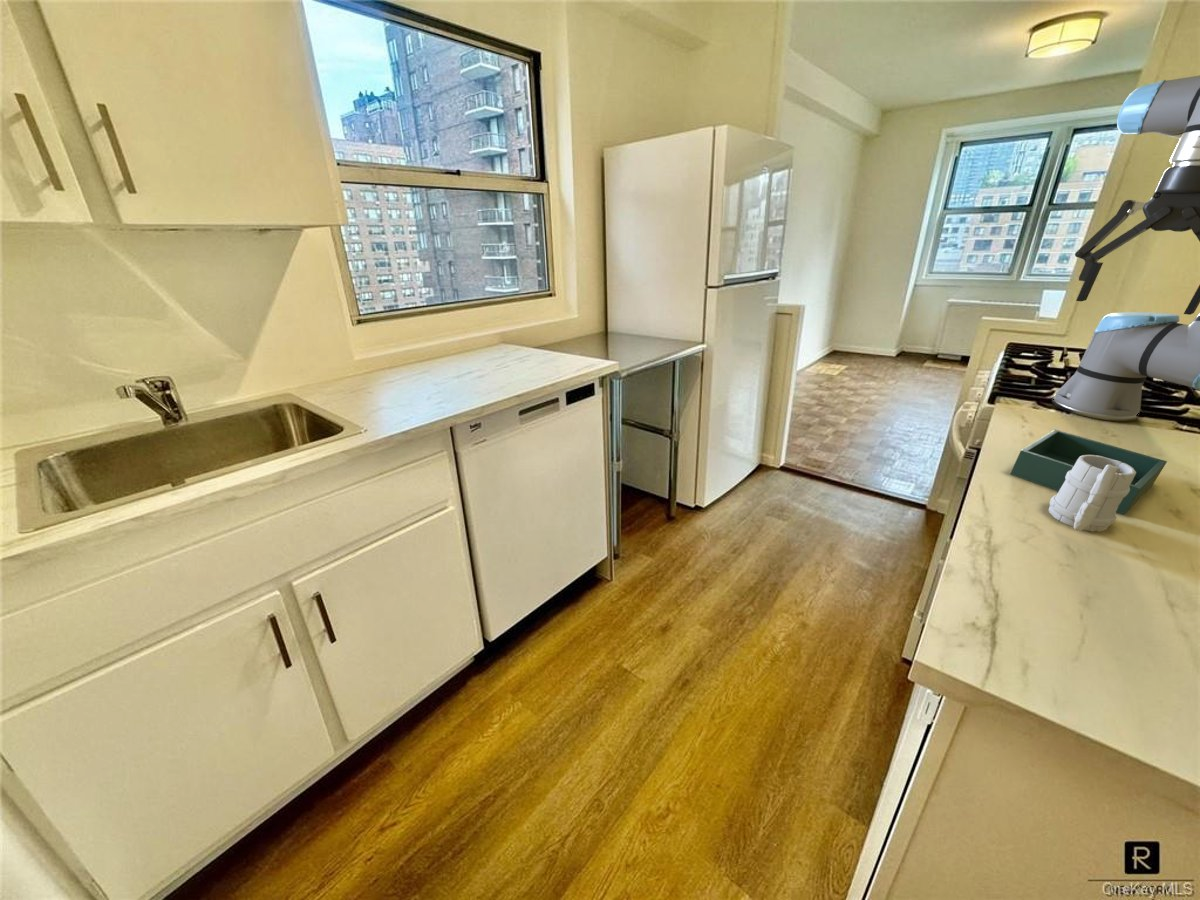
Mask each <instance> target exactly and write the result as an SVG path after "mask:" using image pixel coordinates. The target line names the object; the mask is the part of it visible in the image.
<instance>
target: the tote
mask: <svg viewBox="0 0 1200 900" xmlns="http://www.w3.org/2000/svg"><path fill="white" fill-rule="evenodd" d="M1082 455H1095V456H1102V457H1106V458H1109V459H1113V460H1117V461H1121V462H1122V463H1125V464H1128V465H1129V466H1131V467H1132V468H1133V469H1134V470H1135V471H1136V475H1135V477H1134V478H1133V480H1132V482H1131V484H1130V486H1129V488H1130V491H1129V493H1128V494H1127V495H1126V496H1125V497H1123V499H1122V501H1121V503H1120V505H1118V509H1117V511H1116V513H1117V514H1120V515H1123V516H1125V515H1126V514H1127V513H1128V512H1129V511H1130V510H1131V509H1132V508H1133V507H1134V505H1136V503H1138V501H1139V500H1140V499H1141V498H1142V497H1143V496H1144V495H1145V494H1146V493H1147V492H1148V491H1149V490H1150V489H1151V487H1153V485H1154V484H1155V482H1156V481H1157V479H1158V477H1159V476H1160V475H1161V472H1162V471H1163V469H1164V468H1165V466H1166V465H1167V463H1168V461H1167V460H1165V459H1161V458H1157V457H1154V456H1150V455H1146V454H1144V453H1140V452H1136V451H1132V450H1129V449H1125V448H1122V447H1118V446H1115V445H1112V444H1108V443H1105V442H1101V441H1097V440H1093V439H1090V438H1087V437H1083V436H1079V435H1076V434H1072V433H1069V432H1066V431H1062V430H1058V429H1053V430H1052V431H1050V432H1049V433H1047V434H1045V435H1044V436H1042V437H1041V438H1039V439H1037V440H1035V441H1034V442H1033V443H1031V444H1029V445H1026V446H1025V447H1024V448H1023V449H1021V450H1020V451H1019V454H1018V456H1017V457H1016V460H1015V463H1014V464H1013V467H1012V469H1011V471H1010V473H1009V475H1011V476H1014V477H1017V478H1020V479H1022V480H1025V481H1027V482H1030V483H1034V484H1037V485H1039V486H1041V487H1044V488H1047V489H1050V490H1053V491H1056V492H1057V493H1058V492H1059V490H1060V488H1061V487H1062V485H1063V483H1064V482H1065V480H1066V479H1065V476H1066V474H1067V472H1068V471H1070V470H1072V468H1073V467H1074V465H1075V463H1076V462H1077V460H1078V458H1079V457H1080V456H1082Z"/></svg>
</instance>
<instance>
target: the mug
mask: <svg viewBox="0 0 1200 900" xmlns="http://www.w3.org/2000/svg"><path fill="white" fill-rule="evenodd" d="M1135 475H1136V471H1135V470H1134V469H1133V468H1132V467H1131V466H1129V465H1128V464H1125V463H1122V462H1121V461H1117V460H1113V459H1109V458H1106V457H1102V456H1095V455H1082V456H1080V457H1079V458H1078V460H1077V462H1076V463H1075V465H1074V467H1073V468H1072V470H1070V471H1068V472H1067V474H1066V476H1065V479H1066V480H1065V482H1064V483H1063V485H1062V487H1061V488H1060V490H1059V492H1058V491H1057V494H1054V495H1052V497H1051V498H1050V500H1049V508H1048V513H1049V514H1050V515H1051V516H1052V517H1053V518H1054V519H1055V520H1058V521H1059V522H1061V523H1063V524H1065V525H1067V526H1070V527H1073V529H1074V530H1076V531H1079V532H1080V531H1081V532H1082V531H1087V532H1088V531H1089V532H1104V531H1106V530H1107V529H1108V527H1109V526H1112V525H1113V524H1114V523H1115V522H1116V519H1117V515H1116V513H1117V512H1116V511H1117V509H1118V505H1120V503H1121V501H1122V499H1123V497H1125V496H1126V495H1127V494H1128V493H1129V491H1130V488H1129V486H1130V484H1131V482H1132V480H1133V478H1134V477H1135Z"/></svg>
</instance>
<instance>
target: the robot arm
mask: <svg viewBox="0 0 1200 900" xmlns="http://www.w3.org/2000/svg"><path fill="white" fill-rule="evenodd" d="M1116 127H1117V129H1118V131H1119V132H1120V133H1121V134H1123V135H1142V134H1147V133H1148V134H1149V133H1153V134H1159V135H1164V136H1168V137H1170V138H1174V139H1179V140H1178V143H1177V144H1176V147H1175V149H1174V150H1173V153H1172V155H1171V157H1170V159H1169V162H1170V164H1173V165H1172V166H1170V167H1167V169H1165V170H1164V172H1163V174H1162V176H1161V178H1160V181H1159V182H1158V184H1157V187H1156V189H1155V191H1154V193H1153V195H1152V197H1151V198H1150V199H1149V200H1148V201H1147V202H1145V201H1136V200H1135V199H1127V200H1124V201H1123V202H1122V203H1121V205H1120V207H1119V209H1118V211H1117V212H1116V213H1115V215H1114V216H1113V217H1112V218H1111V219H1110V220H1108V221H1107V223H1105V224H1104V225H1103V226H1102V227H1101V228H1100V229H1099V230H1098V231H1097V232H1096V233H1094V234H1093V236H1092V237H1090V239H1088V240H1087V241H1086V242H1085V243H1084V244H1083V245H1082V246H1081V247H1080V248H1079V249H1078V250H1076V252H1075V253H1074V255H1075V258H1079V259H1081V260H1083V261H1084V265H1083V267H1082V269H1081V271H1080V274H1079V276H1078V281H1080V282H1083V284H1082V287H1081V289H1080V291H1079V293H1078V295H1077V298H1076V300H1075V302H1084V301H1087V299H1088V297H1089V295H1090V293H1091V291H1092V288H1093V287H1094V284H1095V282H1096V279H1098V278H1097V277H1098V276H1099V273H1100V271H1101V269H1102V266H1103V265H1104V262H1100V260H1101V259H1102V258H1104V257H1106V256H1107V255H1109V254H1111V253H1113V251H1115V250H1117V249H1118V248H1121V247H1122V246H1123V245H1125V244H1126V243H1128V242H1130V241H1132V240H1133V239H1134V238H1136V237H1138V236H1140V235H1142V234H1143V233H1145V232H1146V231H1148V230H1150V229H1151V230H1153V231H1154V232H1164V231H1165V232H1166V231H1171V232H1175V233H1176V232H1178V233H1183V232H1188V231H1191V232H1192V233H1193V235H1195V237H1196V239H1197V240H1198V241H1199V243H1200V75H1193V76H1188V77H1180V78H1175V79H1167V80H1166V79H1162V80H1161V81H1156V82H1152V83H1147V84H1143V85H1141V86H1139V87H1137V88H1136V89H1134V90H1133V91H1132V92H1131V93H1129V95H1128V96H1127V97H1126V99H1125V100H1124V101H1123V103H1122V105H1121V107H1120V109H1119V112H1118V115H1117V120H1116ZM1139 211H1142V212H1143V214H1144V216H1145V219H1144V220H1142V221H1140V222H1139V223H1137V224H1135V225H1134V226H1133V227H1132V228H1131V229H1128V230H1127V231H1126V232H1124V233H1123V234H1121V235H1119V236H1118V237H1116V238H1115V239H1113V240H1111V241H1110V242H1108V243H1106V244H1105V245H1103V246H1102V247H1100V248H1099V249H1097V250H1096V251H1094V252H1093V250H1095V249H1096V248H1097V247H1098V246H1099V245H1100V244H1101V243H1102V242H1103V241H1105V240H1106V238H1107V237H1109V236H1110V235H1111V234H1112V233H1113V232H1114V231H1115V230H1116V229H1117V228H1118V227H1119V226H1120V225H1121V224H1122V223H1124V222H1125V221H1126V220H1127V219H1128V218H1129V216H1134V215H1136V214H1137V213H1138V212H1139ZM1199 305H1200V284H1199V285H1198V287H1197V289H1196V291H1194V293H1193V296H1192V298H1191V299H1190V301H1189V303H1188V305H1187V307H1186V308H1185V310H1184V311H1183V315H1190V316H1191V315H1193V314H1195V312H1196V311H1197V308H1198V307H1199ZM1179 322H1180V315H1179V314H1173V313H1168V312H1167V313H1166V312H1140V311H1138V312H1137V311H1135V312H1134V311H1132V312H1131V311H1130V312H1129V311H1127V312H1112V313H1109V314H1106V315H1104V316H1103V318H1101V320H1100V322H1099V323H1098V325H1097V327H1096V328H1095V330H1094V331H1093V332H1092V333H1093V334H1092V336H1091V338H1090V341H1089V343H1088V345H1087V347H1086V349H1085V352H1084V354H1083V356H1082V357H1081V360H1080V362H1079V365H1078V367H1077V369H1076V371H1075V372H1074V374H1073V375H1072V376H1071V377H1070V378H1069V379H1068V380H1067V381H1066V382H1065V383H1064V384H1063V385H1062V386H1061V387H1060V388H1059V389H1058V390H1057V391H1056V392H1055V394H1054V395H1053V397H1052V399H1051V403H1052V404H1053V405H1054V406H1056V407H1057V408H1059V409H1061V410H1063V411H1066V412H1068V413H1072V414H1074V415H1079V416H1083V417H1085V418H1091V419H1095V420H1100V421H1101V420H1102V421H1111V422H1133V421H1136V419H1137V418H1138V416H1137V417H1135V416H1136V415H1137V414H1138V413H1139V414H1140V412H1141V406H1142V393H1143V385H1144V383H1145V381H1146V380H1147V377H1148V378H1152V379H1157V380H1161V381H1163V382H1169V383H1173V384H1177V385H1181V386H1186V387H1189V388H1193V389H1194V390H1197V391H1200V313H1199V314H1198V315H1197V316H1196V317H1195V318H1194V320H1193V321H1192V322H1191V323H1190V324H1187V323H1186V324H1185V323H1179ZM1053 399H1054V400H1053ZM1139 414H1138V415H1139Z"/></svg>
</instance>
